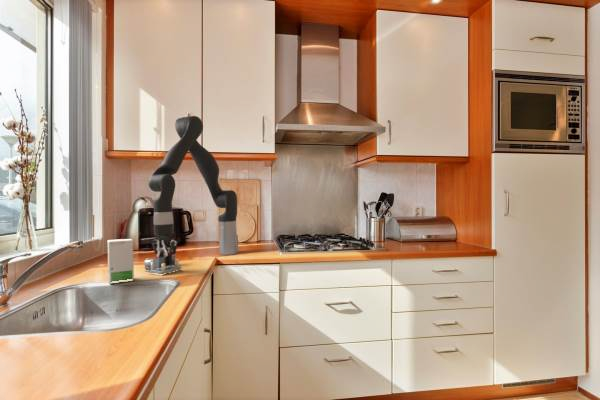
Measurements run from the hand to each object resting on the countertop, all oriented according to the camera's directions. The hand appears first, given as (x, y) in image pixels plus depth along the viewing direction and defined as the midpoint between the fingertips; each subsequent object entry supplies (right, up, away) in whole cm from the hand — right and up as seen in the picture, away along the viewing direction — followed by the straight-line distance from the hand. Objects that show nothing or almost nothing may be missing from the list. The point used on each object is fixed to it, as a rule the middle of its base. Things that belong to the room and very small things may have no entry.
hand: (165, 264), depth 141 cm
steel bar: (0, -1, 0) cm, 1 cm away
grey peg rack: (-6, -1, +9) cm, 11 cm away
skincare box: (-11, -4, -13) cm, 18 cm away
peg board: (0, -3, 0) cm, 3 cm away
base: (-8, -3, +5) cm, 10 cm away
